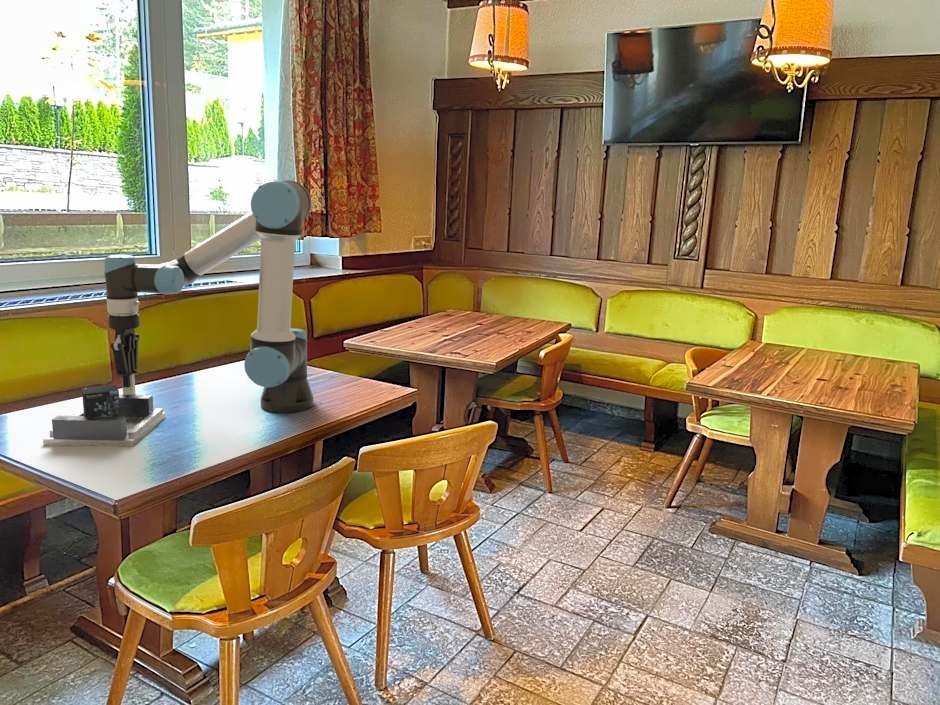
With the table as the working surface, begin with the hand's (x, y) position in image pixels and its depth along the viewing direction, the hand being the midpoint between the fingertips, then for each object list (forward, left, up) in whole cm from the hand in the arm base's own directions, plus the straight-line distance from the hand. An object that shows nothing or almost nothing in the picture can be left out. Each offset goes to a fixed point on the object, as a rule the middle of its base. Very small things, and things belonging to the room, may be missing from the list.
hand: (129, 397), depth 193 cm
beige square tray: (0, +14, -4) cm, 15 cm away
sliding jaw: (0, +6, -3) cm, 7 cm away
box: (0, +17, -3) cm, 18 cm away
